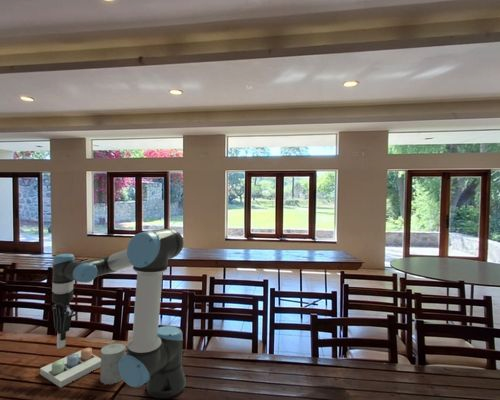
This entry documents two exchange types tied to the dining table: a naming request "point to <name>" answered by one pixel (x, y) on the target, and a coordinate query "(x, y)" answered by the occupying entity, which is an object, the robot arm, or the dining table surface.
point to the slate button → (72, 360)
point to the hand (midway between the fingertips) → (61, 346)
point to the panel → (71, 370)
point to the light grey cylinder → (111, 362)
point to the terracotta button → (86, 354)
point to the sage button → (57, 367)
